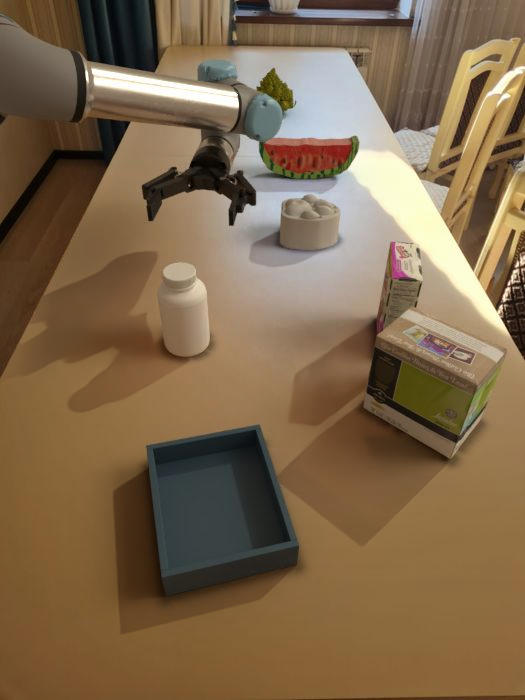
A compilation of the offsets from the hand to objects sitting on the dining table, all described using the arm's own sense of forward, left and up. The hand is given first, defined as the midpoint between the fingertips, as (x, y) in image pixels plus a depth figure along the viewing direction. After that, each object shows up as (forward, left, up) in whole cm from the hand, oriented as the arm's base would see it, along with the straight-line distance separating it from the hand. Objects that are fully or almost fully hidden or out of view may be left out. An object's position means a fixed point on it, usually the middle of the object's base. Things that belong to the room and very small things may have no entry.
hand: (190, 216), depth 89 cm
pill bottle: (+9, -3, -19) cm, 22 cm away
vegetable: (-106, +43, -19) cm, 116 cm away
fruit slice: (-54, +39, -19) cm, 69 cm away
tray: (+43, -4, -19) cm, 47 cm away
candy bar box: (+16, +32, -19) cm, 41 cm away
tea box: (+34, +29, -19) cm, 49 cm away
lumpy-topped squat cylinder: (-21, +29, -19) cm, 41 cm away
